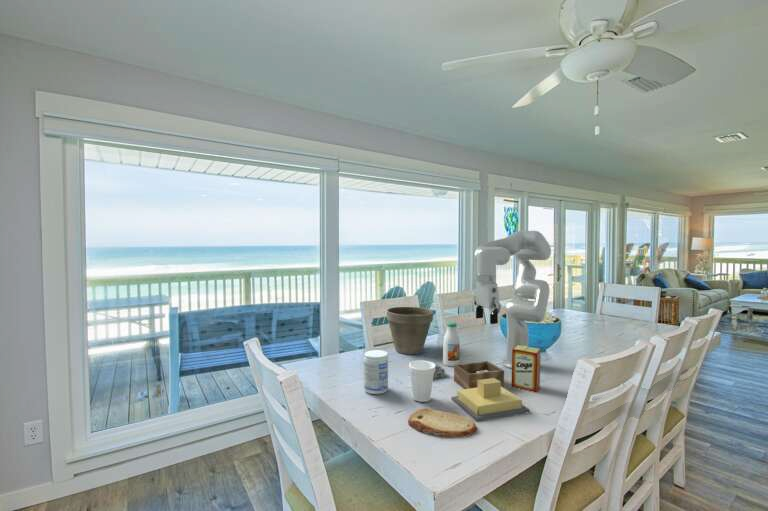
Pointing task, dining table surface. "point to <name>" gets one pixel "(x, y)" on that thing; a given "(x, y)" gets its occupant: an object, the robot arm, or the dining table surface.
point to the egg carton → (438, 372)
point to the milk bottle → (451, 345)
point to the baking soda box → (526, 368)
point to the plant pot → (409, 328)
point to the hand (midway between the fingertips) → (486, 320)
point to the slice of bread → (441, 423)
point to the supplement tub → (376, 372)
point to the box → (476, 373)
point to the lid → (489, 397)
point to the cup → (422, 379)
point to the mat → (489, 415)
